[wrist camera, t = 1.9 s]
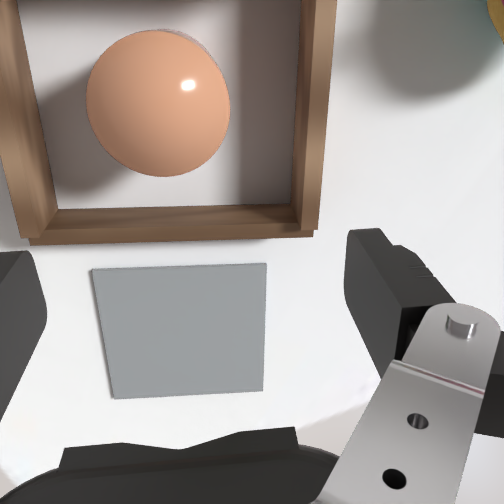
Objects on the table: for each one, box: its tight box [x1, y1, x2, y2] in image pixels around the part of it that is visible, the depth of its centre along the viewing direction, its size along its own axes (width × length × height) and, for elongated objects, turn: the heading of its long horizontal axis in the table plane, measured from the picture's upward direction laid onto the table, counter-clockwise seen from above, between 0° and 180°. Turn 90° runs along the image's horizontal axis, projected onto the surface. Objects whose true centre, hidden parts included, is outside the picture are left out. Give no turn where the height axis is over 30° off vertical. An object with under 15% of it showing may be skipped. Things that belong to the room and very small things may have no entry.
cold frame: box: [0, 0, 337, 246], centre depth 24 cm, size 17×17×7 cm
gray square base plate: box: [92, 263, 267, 399], centre depth 36 cm, size 12×12×1 cm
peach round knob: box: [86, 29, 230, 177], centre depth 25 cm, size 7×7×6 cm
